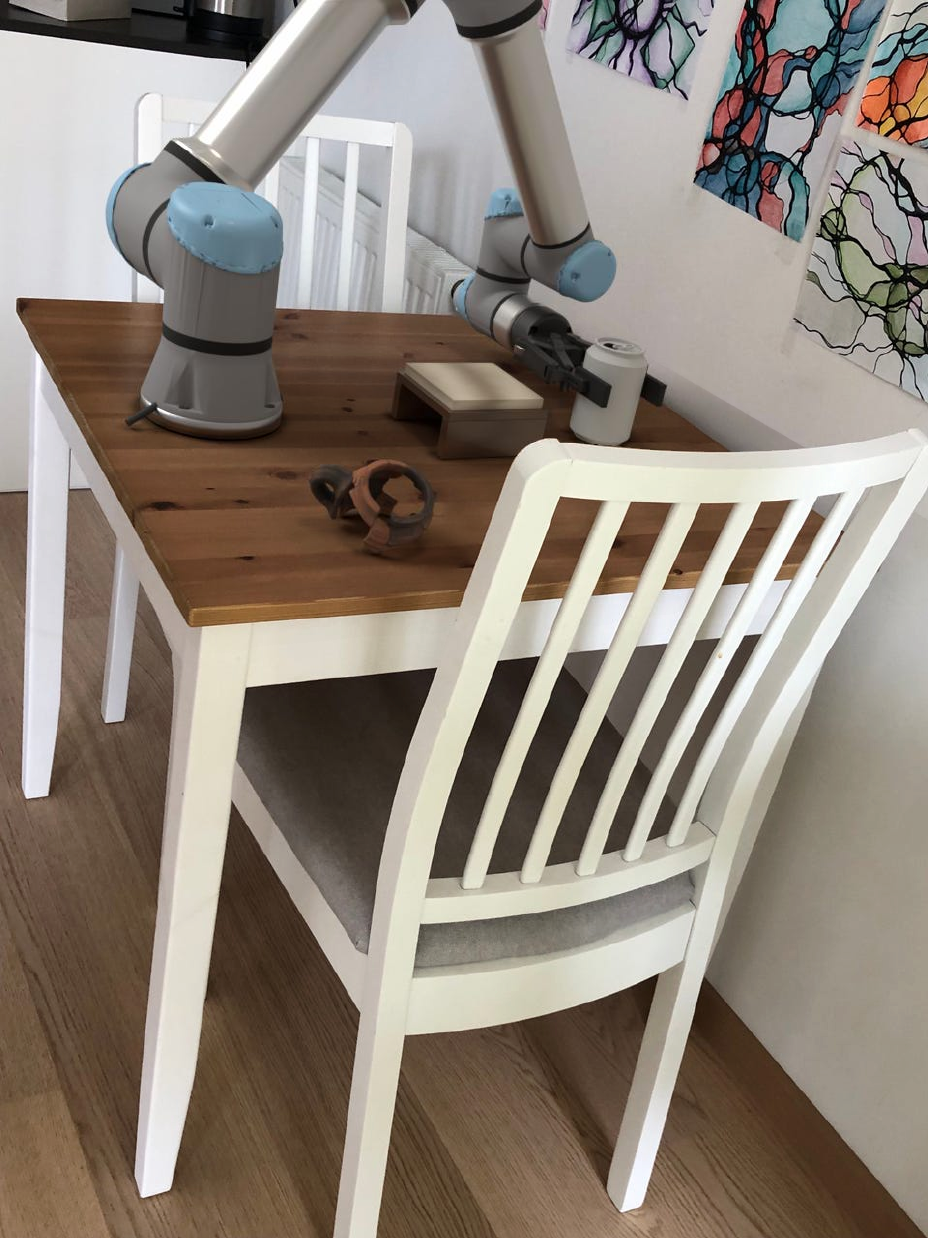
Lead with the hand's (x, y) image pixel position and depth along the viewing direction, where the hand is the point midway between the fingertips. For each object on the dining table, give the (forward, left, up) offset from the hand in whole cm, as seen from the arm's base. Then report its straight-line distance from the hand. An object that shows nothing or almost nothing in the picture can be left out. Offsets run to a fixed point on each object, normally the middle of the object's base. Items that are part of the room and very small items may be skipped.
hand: (634, 396), depth 145 cm
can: (0, +5, -7) cm, 9 cm away
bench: (-18, +7, -7) cm, 21 cm away
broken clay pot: (-41, -15, -7) cm, 44 cm away
